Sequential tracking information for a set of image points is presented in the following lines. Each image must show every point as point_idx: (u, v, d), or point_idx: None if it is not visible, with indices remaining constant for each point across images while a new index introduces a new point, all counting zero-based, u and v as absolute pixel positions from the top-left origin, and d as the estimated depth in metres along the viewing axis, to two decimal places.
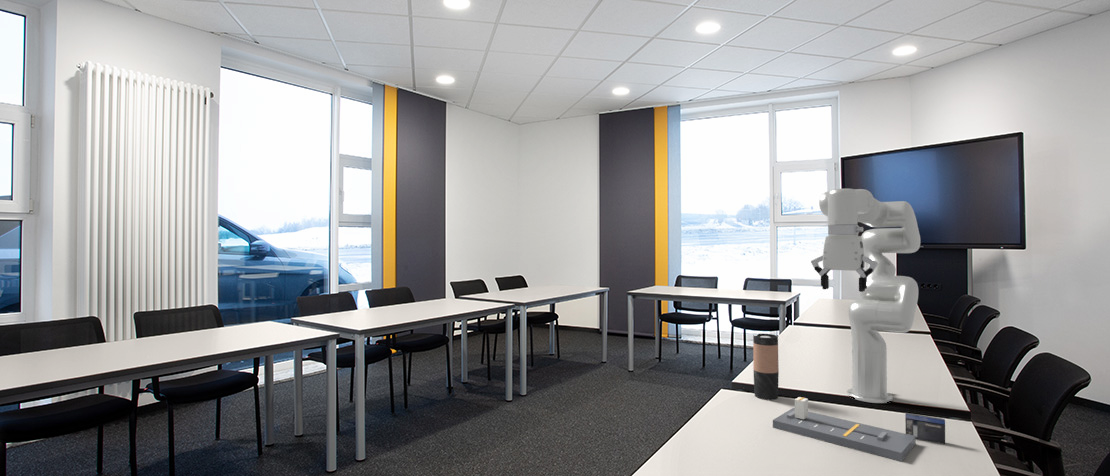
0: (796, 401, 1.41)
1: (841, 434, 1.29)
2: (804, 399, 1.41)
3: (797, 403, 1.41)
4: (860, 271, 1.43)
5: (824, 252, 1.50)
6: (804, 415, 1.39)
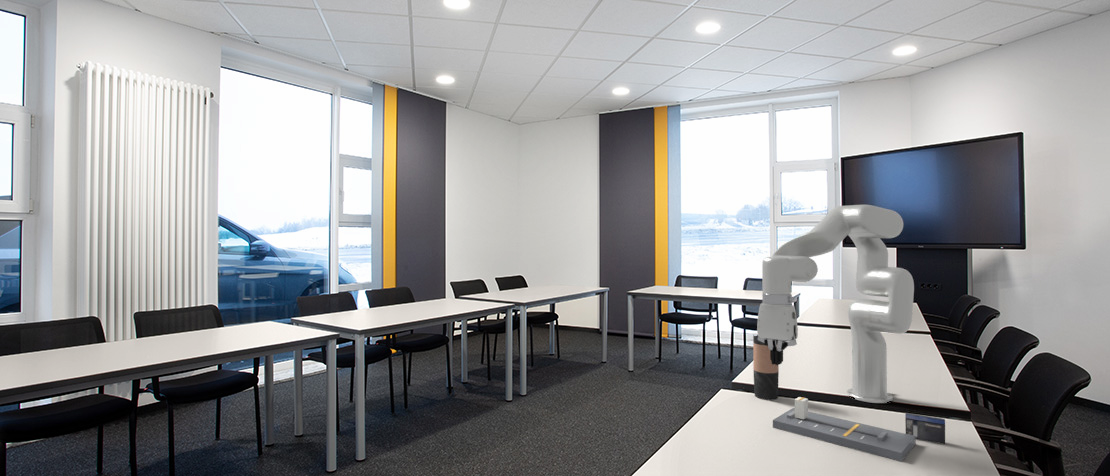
0: (796, 401, 1.41)
1: (841, 434, 1.29)
2: (804, 399, 1.41)
3: (797, 403, 1.41)
4: (780, 345, 1.44)
5: (758, 320, 1.48)
6: (804, 415, 1.39)
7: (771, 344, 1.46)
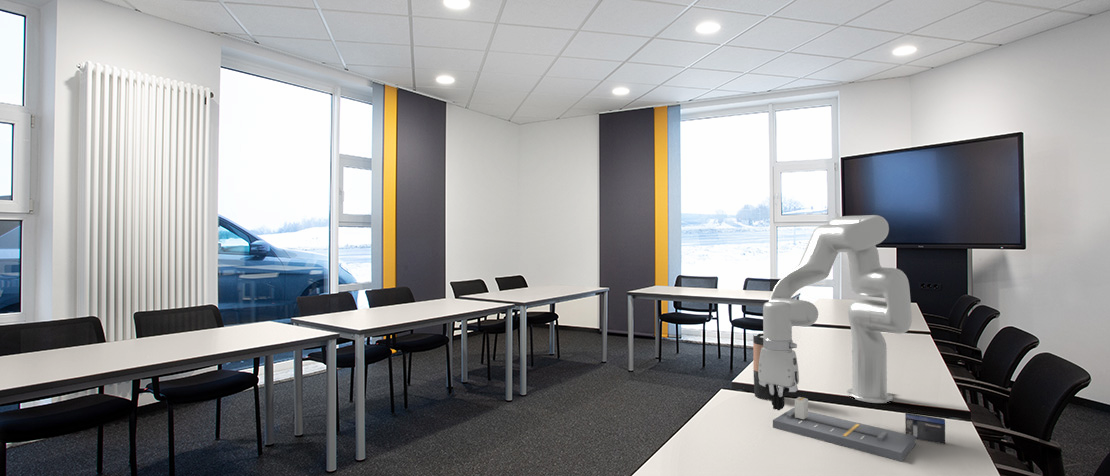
0: (796, 401, 1.41)
1: (841, 434, 1.29)
2: (804, 399, 1.41)
3: (797, 403, 1.41)
4: (781, 390, 1.44)
5: (759, 364, 1.48)
6: (804, 415, 1.39)
7: (772, 389, 1.46)
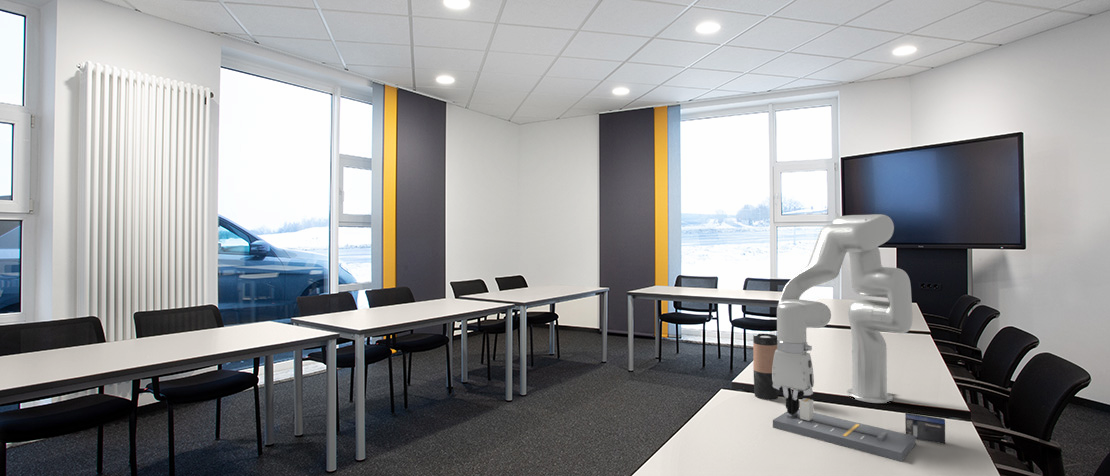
0: (801, 402, 1.40)
1: (841, 434, 1.29)
2: (809, 400, 1.40)
3: (802, 404, 1.39)
4: (796, 393, 1.41)
5: (773, 367, 1.45)
6: (809, 416, 1.38)
7: (786, 392, 1.43)
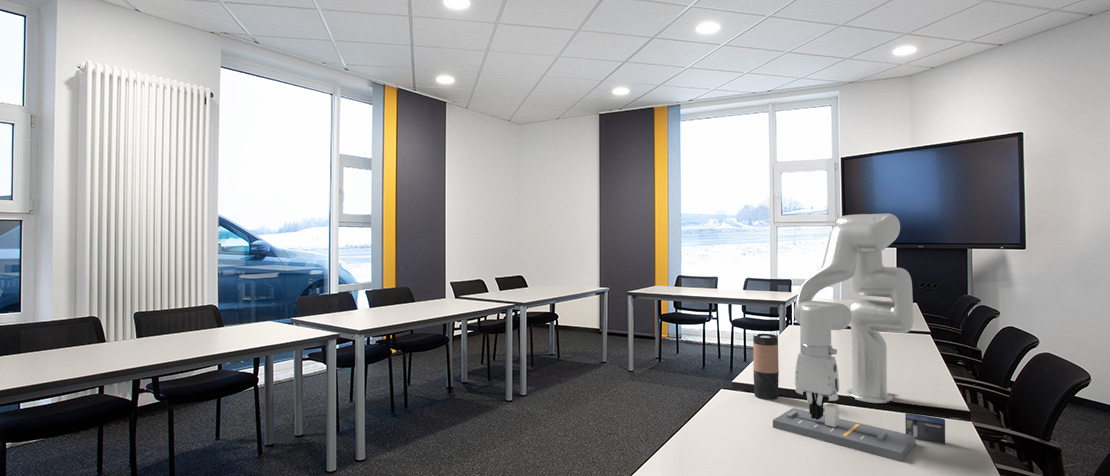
0: (826, 408, 1.35)
1: (841, 434, 1.29)
2: (835, 406, 1.35)
3: (827, 410, 1.35)
4: (820, 398, 1.36)
5: (796, 371, 1.40)
6: (834, 422, 1.34)
7: (810, 397, 1.38)
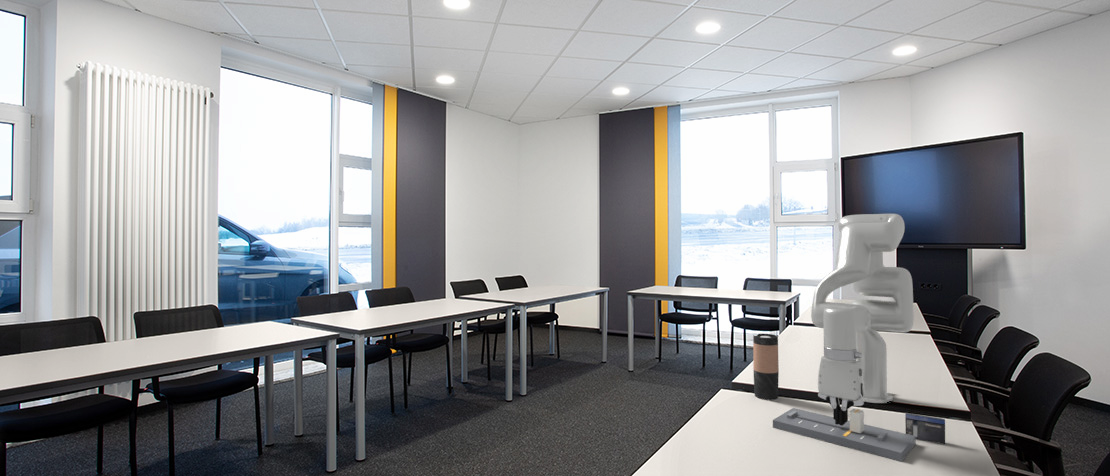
0: (851, 413, 1.31)
1: (841, 434, 1.29)
2: (860, 411, 1.31)
3: (852, 415, 1.30)
4: (845, 404, 1.32)
5: (819, 375, 1.36)
6: (860, 429, 1.29)
7: (834, 402, 1.34)
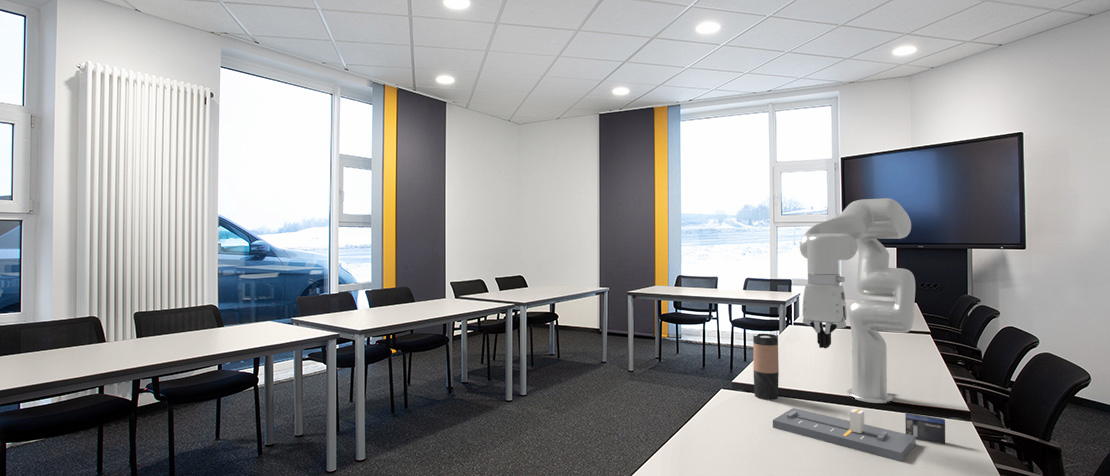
0: (852, 413, 1.31)
1: (841, 434, 1.29)
2: (860, 411, 1.31)
3: (853, 415, 1.30)
4: (828, 327, 1.36)
5: (804, 302, 1.40)
6: (860, 429, 1.29)
7: (818, 327, 1.38)
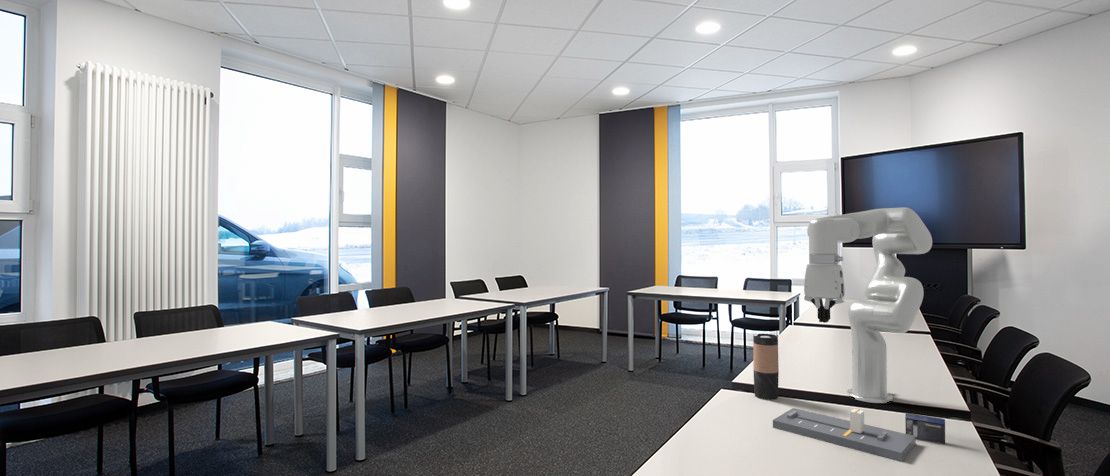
0: (852, 413, 1.31)
1: (841, 434, 1.29)
2: (860, 411, 1.31)
3: (853, 415, 1.30)
4: (827, 303, 1.49)
5: (805, 280, 1.52)
6: (860, 429, 1.29)
7: (818, 303, 1.50)
